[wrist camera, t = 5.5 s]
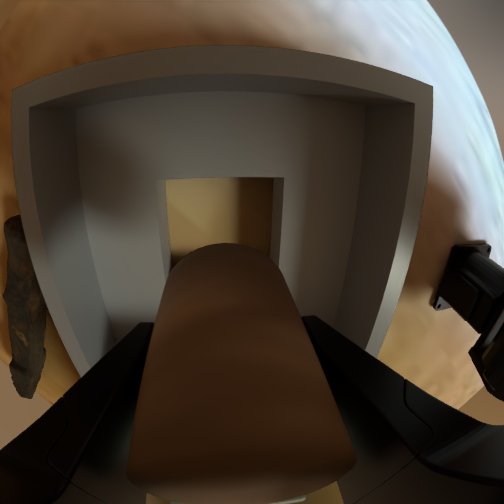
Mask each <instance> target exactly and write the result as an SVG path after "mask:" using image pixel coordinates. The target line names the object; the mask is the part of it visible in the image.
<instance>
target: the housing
mask: <svg viewBox="0 0 504 504" xmlns="http://www.w3.org/2000/svg"><path fill="white" fill-rule="evenodd" d="M432 119H433V86H431V85H428V84H426V83H423V82H421V81H418V80H416V79H413V78H410V77H407V76H405V75H402V74H399V73H396V72H393V71H389V70H386V69H383V68H380V67H376V66H373V65H369V64H365V63H362V62H358V61H353V60H349V59H345V58H340V57H335V56H331V55H325V54H320V53H314V52H307V51H301V50H293V49H284V48H274V47H262V46H242V45H206V46H186V47H174V48H164V49H156V50H148V51H141V52H135V53H129V54H124V55H119V56H114V57H109V58H105V59H101V60H96V61H92V62H89V63H85V64H81V65H78V66H74V67H71V68H68V69H65V70H62V71H59V72H56V73H53V74H50V75H47V76H44V77H42V78H39V79H37V80H34V81H32V82H29V83H27V84H24V85H22V86H20V87H18V88H15V89H13V90H12V107H11V136H12V155H13V167H14V176H15V184H16V192H17V198H18V204H19V210H20V215H21V220H22V225H23V229H24V233H25V238H26V242H27V246H28V249H29V253H30V257H31V260H32V264H33V267H34V270H35V273H36V276H37V279H38V282H39V285H40V288H41V291H42V294H43V297H44V299H45V302H46V305H47V307H48V310H49V312H50V315H51V317H52V319H53V322H54V324H55V326H56V329H57V331H58V333H59V335H60V338H61V340H62V342H63V344H64V346H65V348H66V350H67V352H68V354H69V356H70V358H71V360H72V362H73V364H74V366H75V367H76V369H77V371H78V373H79V375H80V376H81V377H82V376H83V375H84V374H85V373H86V372H87V371H88V370H89V369H90V368H91V367H93V366H94V365H95V364H96V363H97V362H98V361H99V360H100V359H101V358H102V357H103V356H104V355H105V354H106V353H107V352H108V351H109V350H110V349H111V348H112V347H114V346H115V345H116V344H117V343H118V342H119V341H120V340H121V339H122V338H123V337H124V336H125V335H126V334H127V333H128V332H130V331H131V330H132V329H133V328H134V327H135V326H136V325H137V324H138V323H139V322H153V323H155V320H156V316H157V312H158V308H159V305H160V301H161V297H162V294H163V290H164V287H165V283H166V280H167V278H168V275H169V274H170V272H171V270H172V269H173V268H172V259H171V250H170V240H169V230H168V218H167V205H166V190H165V180H167V179H186V178H215V177H274V182H273V205H272V226H271V245H270V259H271V260H272V261H273V262H274V263H275V264H276V265H277V266H278V267H279V269H280V270H281V272H282V274H283V276H284V278H285V281H286V283H287V285H288V288H289V290H290V292H291V295H292V297H293V299H294V302H295V304H296V307H297V309H298V311H299V314H300V316H301V317H302V316H307V315H315V316H317V317H319V318H320V319H321V320H323V321H324V322H326V323H327V324H328V325H330V326H331V327H333V328H334V329H335V330H337V331H338V332H340V333H341V334H342V335H344V336H345V337H347V338H348V339H350V340H351V341H352V342H354V343H355V344H357V345H358V346H359V347H361V348H362V349H364V350H365V351H367V352H368V353H369V354H371V355H372V356H374V357H375V358H377V356H378V353H379V351H380V348H381V346H382V344H383V341H384V339H385V336H386V333H387V331H388V328H389V326H390V323H391V320H392V317H393V315H394V312H395V309H396V306H397V303H398V300H399V297H400V294H401V291H402V288H403V284H404V281H405V278H406V274H407V271H408V267H409V263H410V260H411V256H412V252H413V248H414V244H415V240H416V236H417V231H418V227H419V222H420V217H421V212H422V206H423V201H424V195H425V189H426V182H427V175H428V167H429V158H430V148H431V136H432Z"/></svg>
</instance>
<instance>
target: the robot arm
mask: <svg viewBox="0 0 504 504" xmlns="http://www.w3.org/2000/svg"><path fill="white" fill-rule="evenodd" d="M490 252H491V246H490V245H489V244H462V245H455V246H454V247H453V248H452V251H451V254H450V258H449V261H448V264H447V268H446V271H445V274H444V277H443V280H442V283H441V285H440V288H439V291H438V294H437V296H436V299H435V302H434V304H433V308H434V309H435V310H436V311H438V310H443V309H447V308H451V307H452V308H453V309H454V310H455V311H456V312H457V313H458V314H459V315H460V316H461V317H462V318H463V319H464V320H465V321H467V322H468V323H469V324H470V325H471V326H472V328H473V329H474V330H475V331H476V332H477V333H478V334H481V335H480V337H479V338H478V340H477V341H476V343H475V344H474V346H473V347H471V349H470V350H469V352H468V353H469V355H470V357H471V359H472V361H473V363H474V365H475V367H476V369H477V371H478V373H479V375H480V377H481V379H482V381H483V383H484V385H485V387H486V389H487V391H488V392H489V393H490V394H492V395H493V396H495V397H496V398H497V399H499V400H502V401H503V402H504V268H502V267H501V266H500V265H498V264H497V263H496V262H494V261H493V260H491V259H490V258H489V255H490ZM301 318H302V321H303V323H304V326H305V328H306V330H307V333H308V335H309V338H310V340H311V343H312V345H313V347H314V350H315V352H316V355H317V357H318V360H319V362H320V364H321V367H322V369H323V372H324V374H325V377H326V379H327V382H328V384H329V387H330V389H331V392H332V394H333V397H334V399H335V402H336V404H337V407H338V409H339V412H340V415H341V417H342V420H343V422H344V425H345V427H346V430H347V433H348V435H349V438H350V440H351V443H352V446H353V448H354V451H355V453H356V456H357V462H356V464H355V465H354V467H353V468H352V469H351V470H350V471H349V472H348V473H347V474H345V475H344V476H343V477H341V478H340V479H338V480H337V484H338V487H339V490H340V493H341V496H342V499H343V502H344V504H504V425H490V424H486V423H483V422H480V421H478V420H476V419H474V418H472V417H470V416H468V415H466V414H464V413H462V412H460V411H459V410H457V409H455V408H453V407H451V406H449V405H447V404H445V403H444V402H442V401H440V400H438V399H437V398H435V397H433V396H431V395H430V394H428V393H427V392H425V391H423V390H422V389H420V388H419V387H417V386H416V385H414V384H413V383H411V382H410V381H408V380H407V379H404V377H403V376H401V375H400V374H398V373H397V372H395V371H394V370H392V369H391V368H390V367H388V366H387V365H385V364H384V363H382V362H381V361H379V360H378V359H377V358H375V357H374V356H372V355H371V354H369V353H368V352H367V351H365V350H364V349H362V348H361V347H359V346H358V345H357V344H355V343H354V342H352V341H351V340H350V339H348V338H347V337H345V336H344V335H342V334H341V333H340V332H338V331H337V330H335V329H334V328H333V327H331V326H330V325H328V324H327V323H326V322H324V321H323V320H321V319H320V318H319V317H317V316H315V315H307V316H302V317H301ZM154 324H155V323H153V322H139V323H138V324H137V325H136V326H135V327H134V328H133V329H132V330H131V331H130V332H128V333H127V334H126V335H125V336H124V337H123V338H122V339H121V340H120V341H119V342H118V343H117V344H116V345H115V346H114V347H112V348H111V349H110V350H109V351H108V352H107V353H106V354H105V355H104V356H103V357H102V358H101V359H100V360H99V361H98V362H97V363H96V364H95V365H94V366H93V367H91V368H90V369H89V370H88V371H87V372H86V373H85V374H84V375H83V376H82V377H81V378H80V379H79V380H78V381H77V382H76V383H75V384H74V385H73V386H72V387H71V388H70V389H69V390H68V391H67V392H66V393H65V394H64V395H63V397H61V398H60V399H59V400H58V401H57V402H56V403H55V404H53V405H52V406H51V407H50V408H49V409H48V410H47V411H46V412H45V413H44V414H43V415H42V416H41V417H40V418H39V419H37V420H36V421H35V422H34V423H33V424H32V425H31V426H29V427H28V428H27V429H26V430H24V431H23V432H22V433H21V434H19V435H18V436H17V437H16V438H14V439H13V440H12V441H11V442H10V443H8V444H7V445H6V446H5V447H3V448H2V449H1V450H0V504H146V494H147V492H144V491H142V490H141V489H139V488H137V487H136V486H134V485H133V484H132V483H131V482H130V481H129V480H128V478H127V474H126V472H127V464H128V456H129V449H130V442H131V435H132V429H133V423H134V417H135V411H136V406H137V400H138V395H139V390H140V385H141V380H142V375H143V370H144V366H145V361H146V357H147V353H148V348H149V344H150V340H151V336H152V332H153V328H154Z"/></svg>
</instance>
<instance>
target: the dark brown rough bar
mask: <svg viewBox="0 0 504 504" xmlns="http://www.w3.org/2000/svg"><path fill="white" fill-rule="evenodd" d="M4 232H5V238H6V242H7V249H8V260H7V283H6V288H5V292H4V294H3V298H4V300H5V302H6V303H7V306H8V310H7V311H8V321H9V332H10V340H11V347H12V357H13V358H12V361H11V362H10V364H9V367H10V372H11V374H12V377H11V378H12V380H13V381H14V382H13V384H14V386H15V388H16V391H17V392H18V394H19V395H20V396H21V397H24V398H28V399H32V397H33V394H34V392H35V390H36V387H37V384H38V382H39V380H40V378H41V372H42V369H43V367H44V362H45V358H46V349H45V348H44V347H43V346H44V332H45V327H46V309H47V305H46V302H45V299H44V297H43V294H42V291H41V288H40V285H39V282H38V279H37V276H36V273H35V270H34V267H33V264H32V260H31V257H30V253H29V249H28V246H27V242H26V238H25V233H24V229H23V225H22V220H21V215H17V216H14V217H11V218H9V219H8V220H7V221H6V222H5V224H4Z"/></svg>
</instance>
